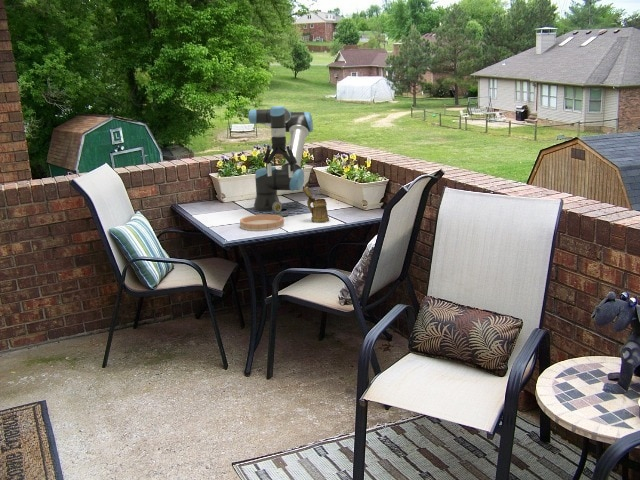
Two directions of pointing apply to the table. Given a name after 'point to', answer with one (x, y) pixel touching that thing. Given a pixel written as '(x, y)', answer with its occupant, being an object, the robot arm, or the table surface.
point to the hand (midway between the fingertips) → (280, 176)
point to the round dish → (261, 222)
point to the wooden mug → (317, 208)
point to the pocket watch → (278, 208)
